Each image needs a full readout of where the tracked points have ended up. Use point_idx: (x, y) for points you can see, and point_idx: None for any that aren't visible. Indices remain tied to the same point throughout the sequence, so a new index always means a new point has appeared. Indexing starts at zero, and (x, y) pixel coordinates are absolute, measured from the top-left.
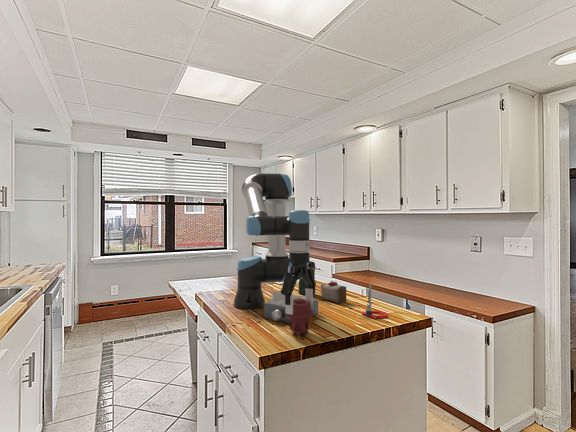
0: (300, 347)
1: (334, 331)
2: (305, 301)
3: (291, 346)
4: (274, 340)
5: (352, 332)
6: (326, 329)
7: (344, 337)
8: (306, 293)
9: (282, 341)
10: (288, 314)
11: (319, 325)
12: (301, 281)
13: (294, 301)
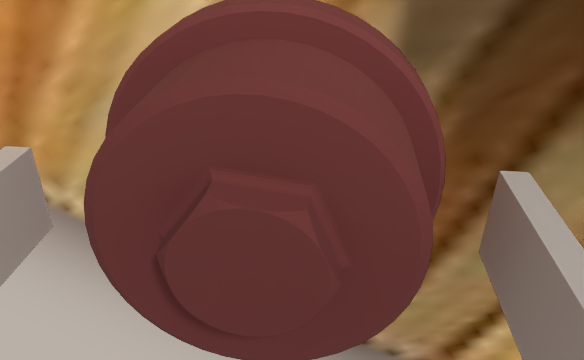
0: (83, 214)
1: (458, 275)
2: (345, 296)
3: (53, 165)
4: (33, 3)
5: (488, 357)
6: (476, 222)
7: (379, 344)
8: (567, 309)
9: (67, 70)
10: (112, 115)
11: (556, 143)
12: None
13: (189, 210)
